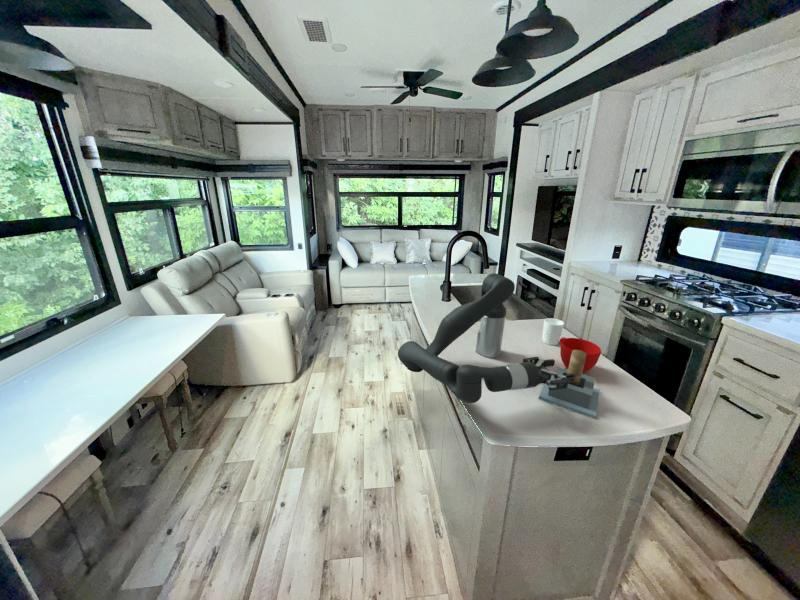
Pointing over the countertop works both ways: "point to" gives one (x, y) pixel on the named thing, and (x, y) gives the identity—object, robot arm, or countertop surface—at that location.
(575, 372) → the wooden cylinder
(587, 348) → the ceramic cup
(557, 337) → the white cup
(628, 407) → the countertop surface
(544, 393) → the socket block
